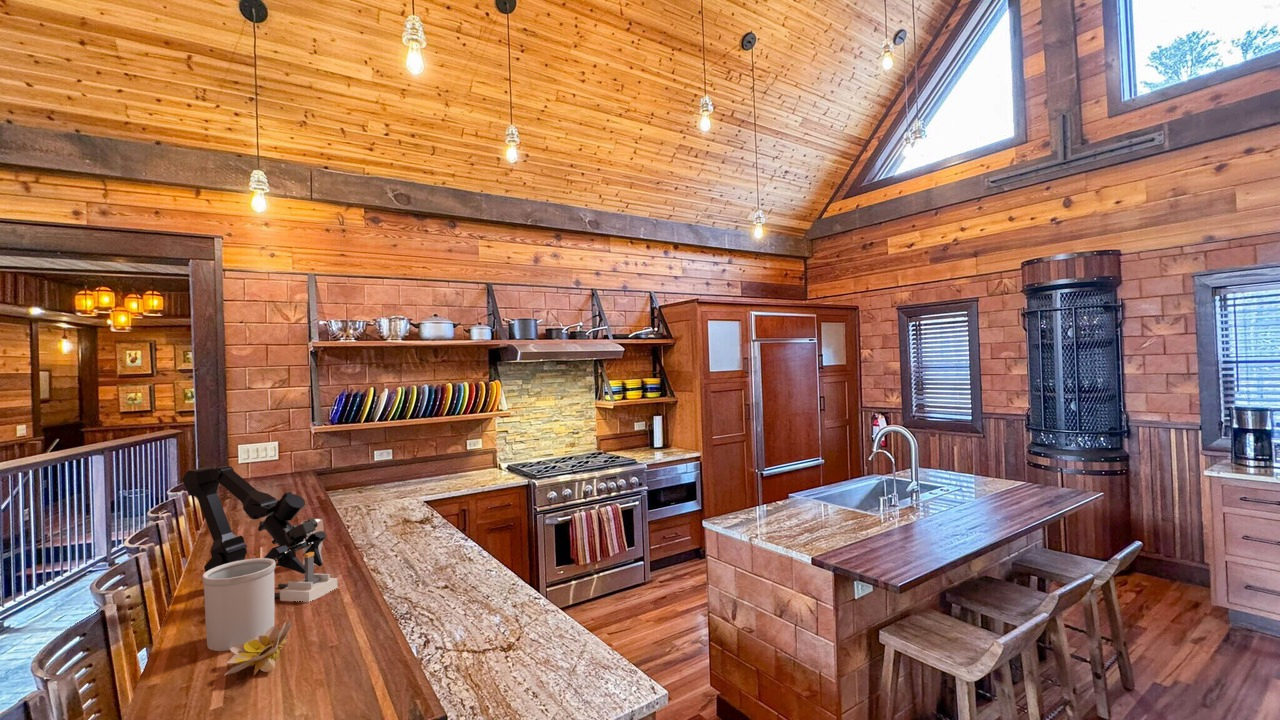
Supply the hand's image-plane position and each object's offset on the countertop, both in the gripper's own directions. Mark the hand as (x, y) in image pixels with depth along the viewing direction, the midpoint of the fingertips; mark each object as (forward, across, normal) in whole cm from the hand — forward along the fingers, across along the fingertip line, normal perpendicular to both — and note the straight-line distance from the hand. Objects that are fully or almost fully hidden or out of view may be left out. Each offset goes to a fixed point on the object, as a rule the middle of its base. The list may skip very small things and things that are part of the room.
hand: (313, 568), depth 165 cm
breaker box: (+1, 0, +10) cm, 10 cm away
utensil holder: (+8, -27, +3) cm, 29 cm away
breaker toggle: (+2, 0, +4) cm, 4 cm away
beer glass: (-10, +24, +22) cm, 34 cm away
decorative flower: (+20, -37, -9) cm, 43 cm away
